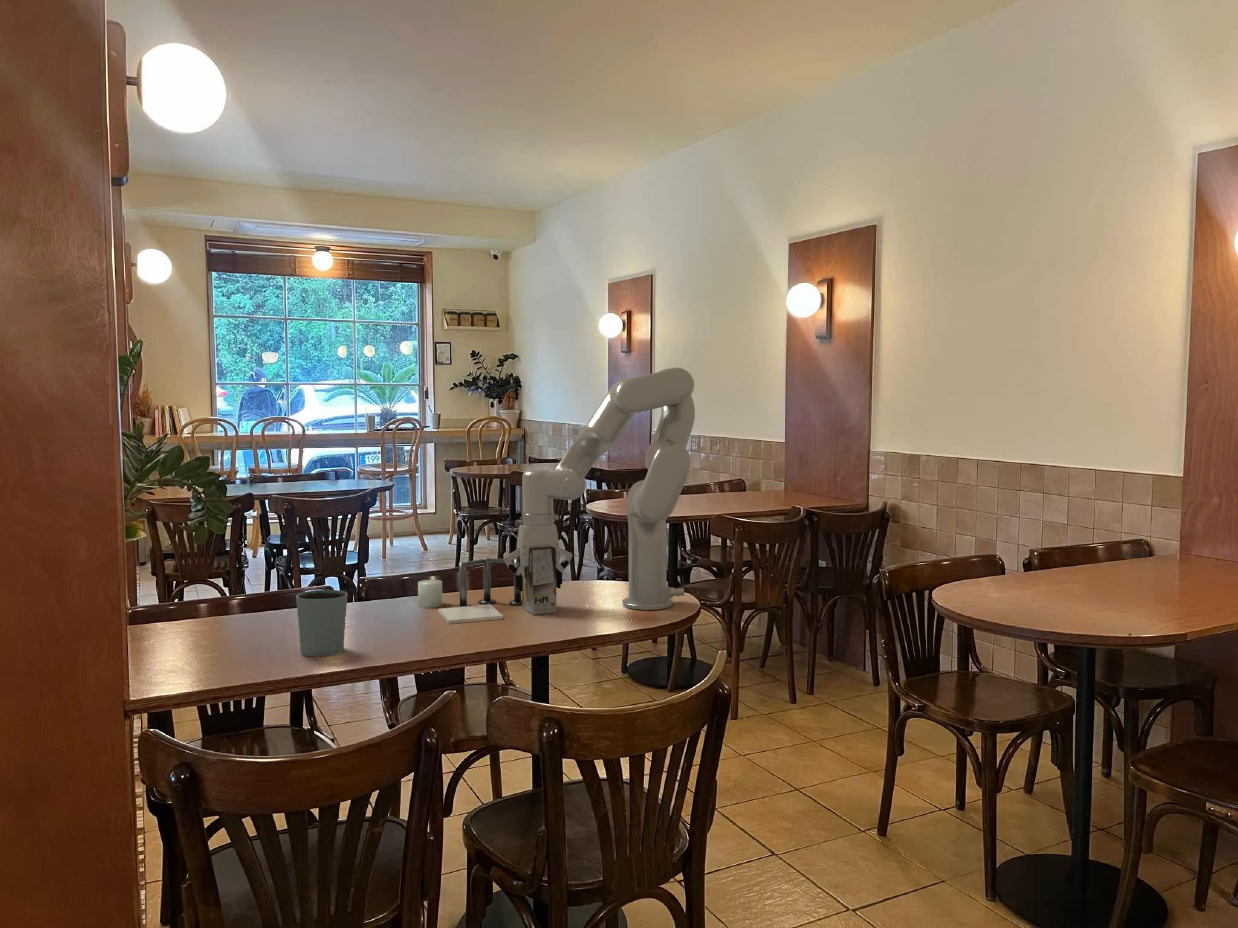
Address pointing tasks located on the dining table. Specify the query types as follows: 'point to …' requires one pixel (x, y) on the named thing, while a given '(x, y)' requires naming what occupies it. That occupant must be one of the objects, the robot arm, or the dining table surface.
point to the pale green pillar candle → (430, 593)
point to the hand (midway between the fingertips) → (538, 588)
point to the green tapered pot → (321, 621)
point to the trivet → (470, 614)
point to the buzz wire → (484, 582)
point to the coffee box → (540, 581)
